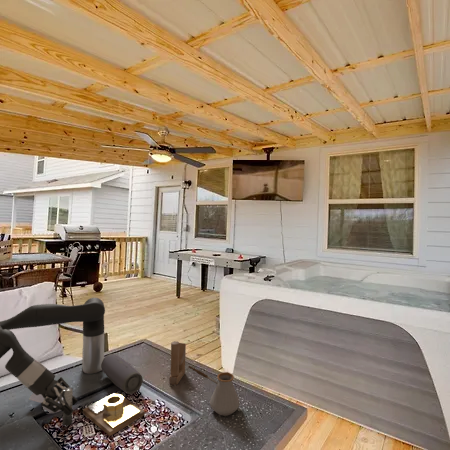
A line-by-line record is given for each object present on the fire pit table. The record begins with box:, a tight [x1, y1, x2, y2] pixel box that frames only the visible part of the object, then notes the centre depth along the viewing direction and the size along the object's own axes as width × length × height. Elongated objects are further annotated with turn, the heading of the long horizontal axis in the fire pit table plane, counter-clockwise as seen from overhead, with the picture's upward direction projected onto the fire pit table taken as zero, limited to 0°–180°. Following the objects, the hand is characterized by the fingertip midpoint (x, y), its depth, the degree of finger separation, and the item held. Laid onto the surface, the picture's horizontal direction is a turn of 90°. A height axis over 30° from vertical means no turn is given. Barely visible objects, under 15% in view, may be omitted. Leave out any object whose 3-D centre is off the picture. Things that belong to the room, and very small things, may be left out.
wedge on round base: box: [28, 392, 63, 414], centre depth 118 cm, size 9×7×13 cm
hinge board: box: [82, 392, 145, 437], centre depth 114 cm, size 18×14×2 cm
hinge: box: [86, 392, 140, 429], centre depth 114 cm, size 17×11×4 cm, turn 52°
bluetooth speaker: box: [101, 353, 144, 395], centre depth 133 cm, size 23×9×10 cm, turn 44°
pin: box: [62, 387, 74, 427], centre depth 108 cm, size 3×3×12 cm
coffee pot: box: [186, 365, 240, 417], centre depth 119 cm, size 21×12×15 cm, turn 77°
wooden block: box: [168, 340, 187, 386], centre depth 139 cm, size 4×11×18 cm, turn 168°
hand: (73, 407), depth 109 cm, fingers open, 5 cm apart
